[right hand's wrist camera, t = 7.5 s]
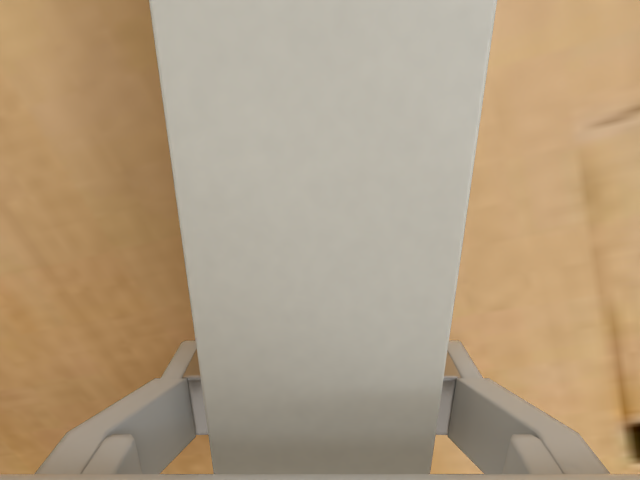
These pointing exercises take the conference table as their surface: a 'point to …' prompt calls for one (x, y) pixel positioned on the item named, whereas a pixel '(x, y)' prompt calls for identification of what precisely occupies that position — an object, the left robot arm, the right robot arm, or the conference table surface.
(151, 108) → the conference table surface
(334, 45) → the beam
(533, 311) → the conference table surface
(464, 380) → the right robot arm
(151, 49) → the conference table surface
